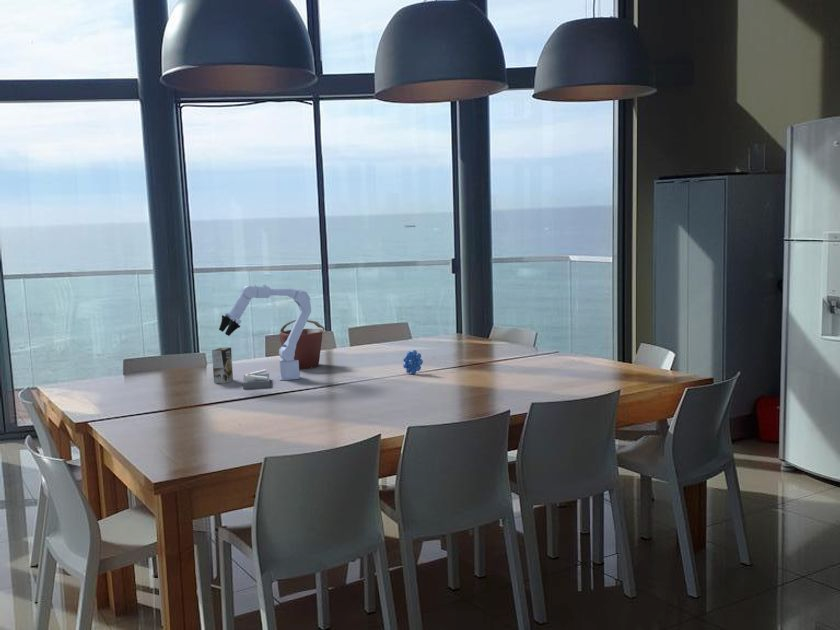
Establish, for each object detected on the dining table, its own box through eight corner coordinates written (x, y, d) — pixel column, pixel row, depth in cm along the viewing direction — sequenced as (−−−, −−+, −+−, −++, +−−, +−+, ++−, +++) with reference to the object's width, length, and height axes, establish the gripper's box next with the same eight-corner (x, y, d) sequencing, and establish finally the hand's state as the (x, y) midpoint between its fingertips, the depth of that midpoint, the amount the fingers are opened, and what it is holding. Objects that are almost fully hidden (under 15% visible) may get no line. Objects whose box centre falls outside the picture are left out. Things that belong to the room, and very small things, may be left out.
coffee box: (225, 383, 402) (223, 350, 400) (213, 383, 404) (211, 350, 402) (233, 379, 411) (231, 347, 409) (221, 379, 413) (219, 347, 411)
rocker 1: (266, 371, 404) (266, 368, 404) (266, 372, 401) (266, 369, 401) (246, 376, 403) (245, 373, 403) (246, 377, 400) (245, 374, 400)
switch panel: (269, 379, 408) (269, 372, 408) (269, 387, 388) (269, 380, 388) (244, 381, 406) (243, 374, 405) (243, 389, 386) (243, 382, 386)
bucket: (334, 364, 443) (332, 317, 440) (307, 371, 424) (305, 323, 421) (299, 361, 456) (296, 316, 453) (271, 368, 437) (269, 321, 434)
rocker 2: (266, 379, 394) (267, 376, 394) (266, 380, 391) (267, 377, 391) (245, 377, 392) (245, 374, 392) (245, 378, 389) (245, 375, 389)
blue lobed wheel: (428, 373, 408) (427, 349, 406) (420, 376, 402) (419, 351, 401) (408, 371, 414) (407, 347, 413) (400, 374, 409) (399, 349, 408)
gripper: (226, 300, 400) (211, 325, 399) (238, 308, 388) (223, 333, 387) (237, 307, 404) (223, 331, 403) (250, 314, 393) (234, 339, 392)
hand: (223, 332), depth 395 cm, fingers open, 7 cm apart
